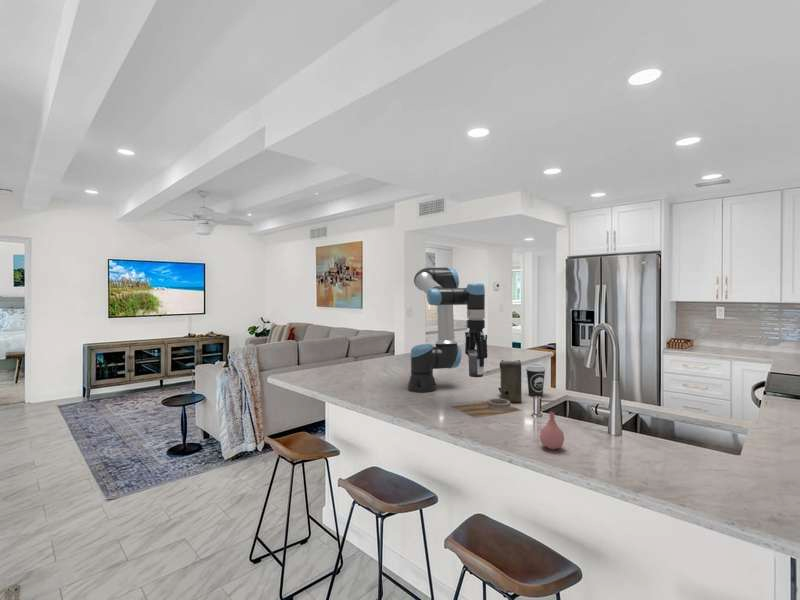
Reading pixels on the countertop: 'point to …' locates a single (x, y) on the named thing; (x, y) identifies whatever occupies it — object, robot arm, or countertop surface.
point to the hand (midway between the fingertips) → (476, 372)
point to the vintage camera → (511, 381)
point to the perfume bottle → (552, 434)
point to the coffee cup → (535, 379)
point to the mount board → (487, 408)
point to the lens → (473, 363)
